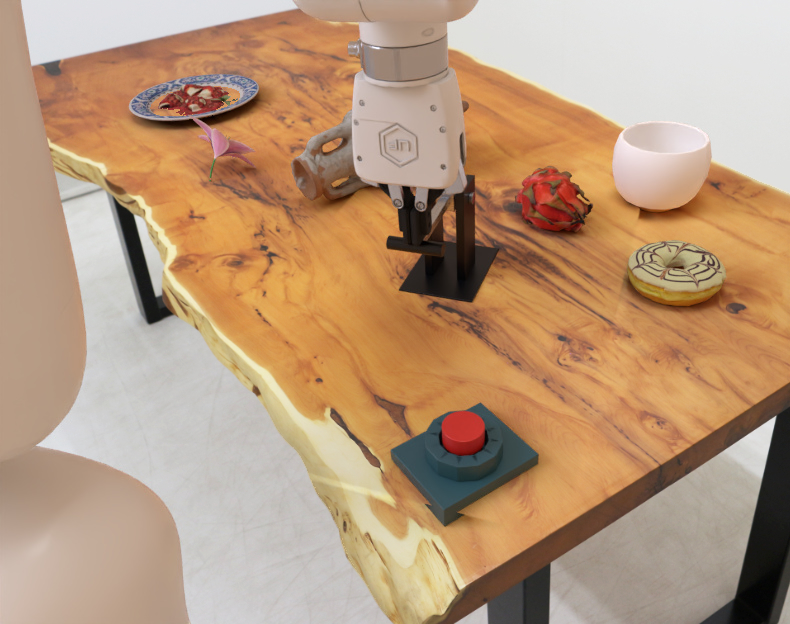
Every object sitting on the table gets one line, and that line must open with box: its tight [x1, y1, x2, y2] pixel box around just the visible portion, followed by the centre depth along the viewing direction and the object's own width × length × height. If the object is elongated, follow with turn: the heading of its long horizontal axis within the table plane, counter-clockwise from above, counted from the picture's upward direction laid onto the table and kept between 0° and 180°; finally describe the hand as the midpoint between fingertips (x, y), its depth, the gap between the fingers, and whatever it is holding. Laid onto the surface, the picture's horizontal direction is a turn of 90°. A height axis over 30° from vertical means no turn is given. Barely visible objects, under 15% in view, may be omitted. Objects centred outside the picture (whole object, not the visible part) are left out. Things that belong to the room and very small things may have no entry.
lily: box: [188, 115, 257, 182], centre depth 115 cm, size 12×12×10 cm
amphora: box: [290, 100, 470, 201], centre depth 107 cm, size 14×16×30 cm
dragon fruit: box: [514, 165, 594, 233], centre depth 93 cm, size 8×8×12 cm
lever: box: [385, 194, 456, 257], centre depth 77 cm, size 13×6×2 cm, turn 159°
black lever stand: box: [398, 173, 500, 304], centre depth 84 cm, size 12×9×13 cm
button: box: [442, 410, 485, 456], centre depth 60 cm, size 4×4×2 cm
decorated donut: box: [626, 239, 728, 307], centre depth 82 cm, size 10×11×4 cm
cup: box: [611, 120, 713, 213], centre depth 96 cm, size 12×12×10 cm
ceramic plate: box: [128, 73, 260, 122], centre depth 143 cm, size 26×26×3 cm
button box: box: [390, 402, 540, 527], centre depth 62 cm, size 10×8×4 cm
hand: (416, 238), depth 73 cm, fingers closed
